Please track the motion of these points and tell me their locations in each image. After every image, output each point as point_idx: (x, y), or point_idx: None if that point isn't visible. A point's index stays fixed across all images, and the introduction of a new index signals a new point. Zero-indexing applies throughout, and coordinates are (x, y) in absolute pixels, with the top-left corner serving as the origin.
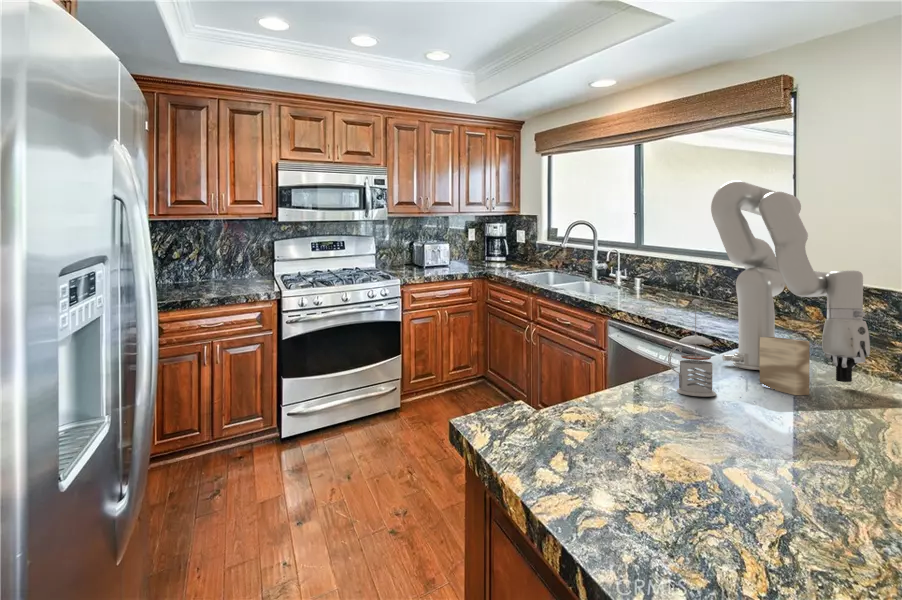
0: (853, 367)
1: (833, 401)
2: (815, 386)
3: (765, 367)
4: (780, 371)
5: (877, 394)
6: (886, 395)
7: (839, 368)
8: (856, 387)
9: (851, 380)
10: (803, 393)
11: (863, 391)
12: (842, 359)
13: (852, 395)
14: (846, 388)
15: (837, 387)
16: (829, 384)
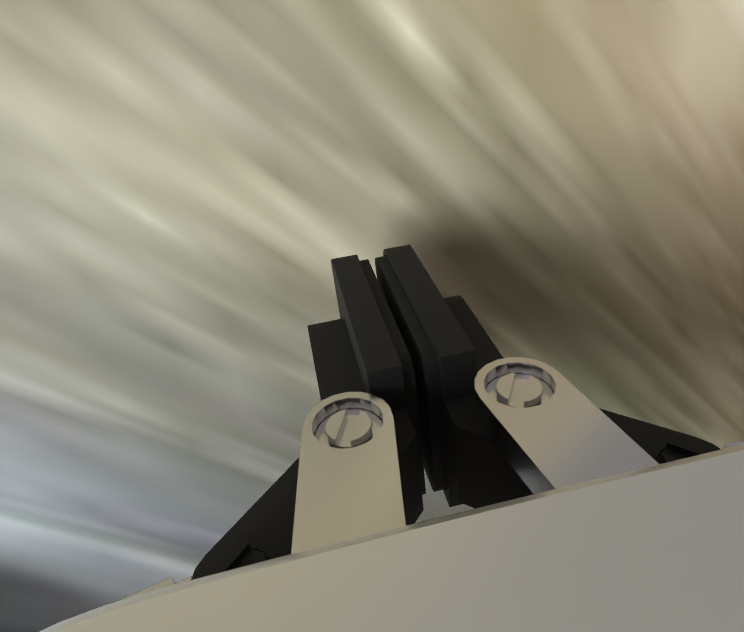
0: (526, 361)
1: None
2: (252, 448)
3: None
4: None
5: (664, 161)
6: (724, 108)
7: (421, 482)
8: (281, 54)
9: (411, 250)
10: None
11: (518, 180)
12: (362, 529)
13: (630, 393)
14: (351, 236)
15: (294, 290)
16: (90, 255)
